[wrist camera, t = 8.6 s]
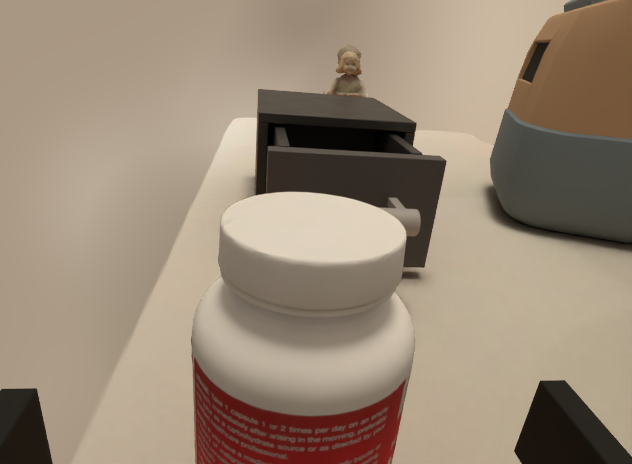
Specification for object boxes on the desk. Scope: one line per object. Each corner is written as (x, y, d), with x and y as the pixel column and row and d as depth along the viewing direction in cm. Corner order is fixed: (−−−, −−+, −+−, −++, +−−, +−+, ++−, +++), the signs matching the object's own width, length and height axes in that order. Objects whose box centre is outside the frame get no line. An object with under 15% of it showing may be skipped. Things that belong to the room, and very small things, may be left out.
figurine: (307, 157, 58) (307, 38, 57) (292, 162, 68) (292, 59, 66) (384, 159, 61) (387, 45, 59) (359, 163, 70) (361, 65, 69)
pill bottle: (406, 585, 14) (494, 271, 9) (201, 644, 12) (191, 292, 8) (341, 427, 19) (378, 180, 15) (194, 451, 17) (185, 181, 13)
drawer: (447, 300, 28) (476, 181, 25) (263, 299, 26) (269, 170, 23) (378, 201, 44) (390, 121, 41) (261, 196, 42) (264, 112, 39)
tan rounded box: (480, 181, 57) (531, -25, 48) (624, 203, 54) (708, -15, 45) (492, 228, 43) (568, -58, 33) (691, 262, 39) (838, -46, 30)
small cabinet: (397, 232, 40) (417, 122, 36) (254, 227, 38) (258, 111, 34) (362, 181, 53) (374, 97, 49) (255, 176, 51) (258, 88, 47)
